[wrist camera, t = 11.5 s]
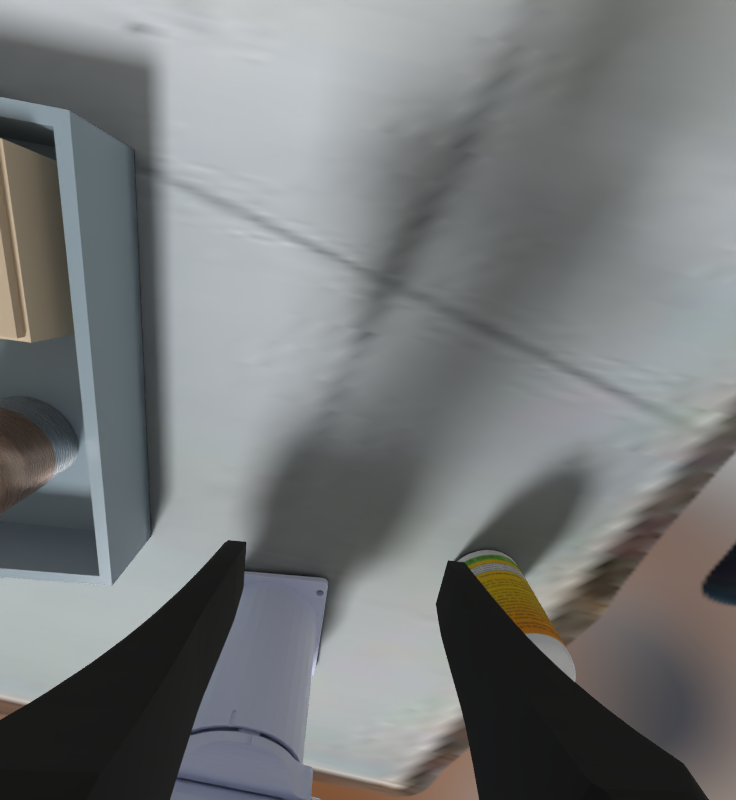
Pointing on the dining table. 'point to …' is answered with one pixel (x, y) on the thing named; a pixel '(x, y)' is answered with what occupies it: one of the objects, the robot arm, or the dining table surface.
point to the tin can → (31, 447)
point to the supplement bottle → (519, 603)
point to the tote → (84, 365)
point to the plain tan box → (32, 249)
